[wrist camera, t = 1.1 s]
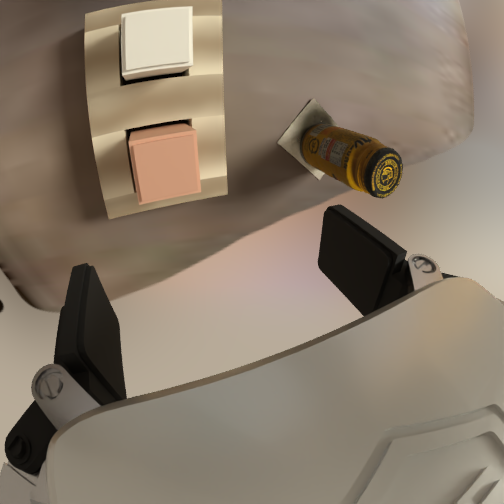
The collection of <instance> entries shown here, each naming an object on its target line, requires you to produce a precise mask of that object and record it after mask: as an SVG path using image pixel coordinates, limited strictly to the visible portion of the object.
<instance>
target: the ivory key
mask: <svg viewBox="0 0 504 504" xmlns="http://www.w3.org/2000/svg"><path fill="white" fill-rule="evenodd" d="M192 8H193V6H188V7H171V8H160V9H151V10H143V11H136V12H130V13H124V14H122V16H121V56H122V76H123V77H124V78H125V80H126V81H128V80H133V79H139V78H145V77H151V76H158V75H165V74H173V73H181V72H183V71H185V70H186V69H188V68H190V67H192V66H193V25H192Z"/></svg>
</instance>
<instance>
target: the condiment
mask: <svg viewBox="0 0 504 504" xmlns="http://www.w3.org/2000/svg"><path fill="white" fill-rule="evenodd" d="M321 121H322V122H321ZM298 137H299V140H298ZM298 141H300V142H298ZM277 143H278V144H279V145H281V146H282V147H283V148H284V149H285V150H286V151H288V152H289V153H290V154H291V155H292V156H293V157H295V158H296V159H297V160H298V161H299V162H300V163H301V164H302V165H303V166H305V167H306V168H307V169H308V170H309V171H310V172H311V173H312V174H313V175H314V176H315V177H317V178H318V179H319V180H320V179H321V177H322V176H323V175H324V174H327V175H329V176H331V177H333V178H335V179H336V180H339V181H341V182H342V183H344V184H346V185H347V186H349V187H351V188H352V189H355V190H358V191H364V192H365V193H368V194H370V195H372V196H374V197H378V198H384V197H387V196H389V195H390V194H391V193H392V192H394V191H395V189H396V188H397V186H398V185H399V182H400V180H401V177H402V169H403V164H402V160H401V157H400V156H399V154H398V153H397V152H396V151H395V150H394V149H391V148H387V147H386V146H384V145H383V144H381V143H380V142H379V141H378V140H377V139H375V138H372V137H369V136H366V135H363V134H360V133H357V132H354V131H350V130H347V129H344V128H340V127H338V125H337V124H336V123H335V122H334V121H333V119H332V118H331V117H330V116H329V115H328V114H327V113H326V111H325V110H324V109H323V108H322V107H321V106H320V105H319V104H318V103H317V102H316V101H315V99H314V98H313V99H312V100H311V101H310V103H309V104H308V105H307V106H306V107H305V108H304V109H303V111H302V112H301V113H300V114H299V115H298V117H297V118H296V119H295V120H294V122H293V123H292V124H291V125H290V127H289V128H288V130H287V131H286V132H285V133H284V134H283V136H282V137H281V139H280V140H279V141H278V142H277Z"/></svg>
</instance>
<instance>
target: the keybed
mask: <svg viewBox="0 0 504 504" xmlns="http://www.w3.org/2000/svg"><path fill="white" fill-rule="evenodd" d="M188 6H193V8H192V25H193V66H192V67H190V68H188V69H186V70H185V71H183V72H182V76H183V77H174V78H166V79H159V80H152V81H146V82H140V83H134V84H129V85H124V86H123V81H122V61H121V16H122V14H124V13H130V12H136V11H143V10H151V9H160V8H171V7H188ZM84 49H85V78H86V92H87V103H88V113H89V121H90V129H91V136H92V142H93V148H94V154H95V160H96V165H97V170H98V175H99V180H100V185H101V189H102V194H103V198H104V202H105V206H106V210H107V214H108V218H109V219H113V218H117V217H121V216H125V215H129V214H133V213H138V212H142V211H146V210H151V209H155V208H160V207H165V206H169V205H174V204H179V203H184V202H189V201H194V200H199V199H205V198H210V197H216V196H221V195H227V194H228V190H227V169H226V147H225V122H224V91H223V48H222V0H157V1H148V2H141V3H134V4H128V5H122V6H117V7H112V8H108V9H103V10H99V11H95V12H91V13H87V14H85V40H84ZM183 119H185V124H187V125H188V126H190V127H192V128H194V129H195V130H196V132H197V146H198V159H199V171H200V183H201V192H199V193H194V194H189V195H184V196H179V197H174V198H169V199H164V200H159V201H154V202H150V203H145V204H141V205H139V201H138V196H137V191H136V185H135V181H134V175H133V169H132V163H131V156H130V149H129V142H128V134H127V129H131V128H136V127H141V126H146V125H151V124H157V123H163V122H169V121H176V120H183Z"/></svg>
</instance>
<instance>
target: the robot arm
mask: <svg viewBox="0 0 504 504" xmlns="http://www.w3.org/2000/svg"><path fill="white" fill-rule="evenodd" d="M406 253H407V251H406V250H404V249H403V248H402V247H400V246H399V245H398V244H397V243H395V242H394V241H392V240H391V239H390V238H388V237H387V236H386V235H384V234H383V233H382V232H380V231H379V230H377V229H376V228H374V227H373V226H372V225H370V224H369V223H367V222H366V221H364V220H363V219H362V218H360V217H359V216H357V215H356V214H354V213H353V212H351V211H350V210H348V209H347V208H345V207H344V206H342V205H335V206H330V207H328V208H327V210H326V211H325V212H324V217H323V226H322V234H321V242H320V250H319V258H318V266H319V268H320V270H321V271H322V272H323V273H324V274H325V275H326V276H327V277H328V278H329V279H330V280H331V282H332V283H333V284H334V285H335V286H336V287H337V288H338V289H339V290H340V291H341V292H342V293H343V294H344V295H345V296H346V297H347V298H348V300H349V301H350V302H351V303H352V304H353V305H354V306H355V307H356V308H357V309H358V310H359V311H360V312H361V314H362V315H363V316H364V317H362V318H360V319H358V320H355V321H353V322H351V323H349V324H347V325H345V326H342V327H340V328H338V329H336V330H334V331H332V332H329V333H327V334H325V335H322V336H320V337H318V338H315V339H313V340H310V341H308V342H306V343H303V344H301V345H298V346H296V347H293V348H291V349H288V350H285V351H283V352H281V353H278V354H275V355H272V356H270V357H267V358H264V359H261V360H259V361H256V362H253V363H250V364H247V365H244V366H241V367H238V368H235V369H232V370H229V371H226V372H223V373H220V374H217V375H214V376H210V377H207V378H203V379H200V380H197V381H193V382H189V383H186V384H182V385H179V386H175V387H171V388H168V389H164V390H160V391H156V392H152V393H148V394H144V395H140V396H135V397H132V398H128V399H127V396H126V389H125V382H124V373H123V366H122V354H121V342H120V327H119V322H118V319H117V316H116V314H115V312H114V310H113V308H112V306H111V304H110V302H109V300H108V298H107V295H106V293H105V291H104V289H103V287H102V284H101V282H100V280H99V277H98V275H97V273H96V270H95V268H94V266H89V265H88V264H87V263H85V264H81V265H78V266H74V267H73V268H72V272H71V276H70V281H69V285H68V290H67V295H66V300H65V306H63V307H62V309H61V312H60V319H59V325H58V331H57V338H56V346H55V355H54V364H48V365H46V366H44V367H42V368H41V369H40V370H39V371H38V372H37V373H36V374H35V376H34V378H33V381H32V386H31V389H32V395H33V397H34V399H35V400H34V402H33V403H32V404H31V405H30V407H29V408H28V409H27V410H26V412H25V413H24V414H23V415H22V417H21V418H20V419H19V421H18V422H17V423H16V424H15V426H14V427H13V428H12V430H11V431H10V433H9V434H8V436H7V437H6V441H5V453H6V456H7V458H8V460H9V461H8V464H7V463H5V462H4V464H3V467H2V470H1V474H0V504H504V302H503V301H501V300H499V299H497V298H495V297H494V296H493V295H492V294H491V293H490V292H489V291H487V290H486V289H485V288H484V287H482V286H481V285H480V284H478V283H477V282H475V281H474V280H472V279H469V278H464V277H458V276H453V275H449V274H445V273H441V271H440V268H439V266H438V264H437V263H436V262H435V261H434V260H433V259H431V258H430V257H428V256H425V255H422V254H413V255H411V256H410V257H409V258H408V261H406V260H405V256H406Z"/></svg>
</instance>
